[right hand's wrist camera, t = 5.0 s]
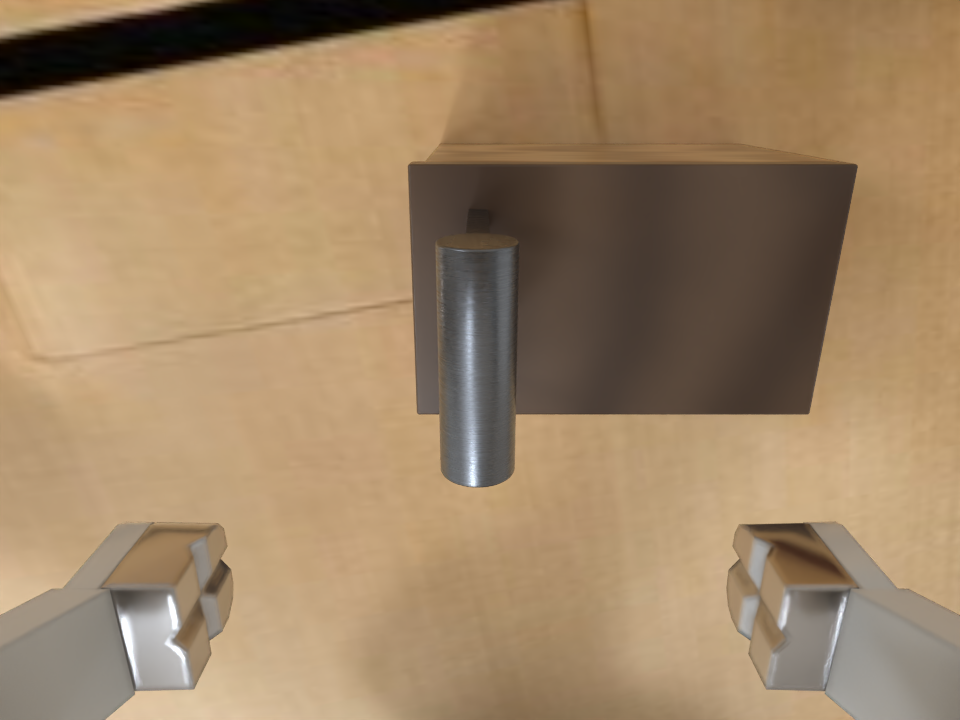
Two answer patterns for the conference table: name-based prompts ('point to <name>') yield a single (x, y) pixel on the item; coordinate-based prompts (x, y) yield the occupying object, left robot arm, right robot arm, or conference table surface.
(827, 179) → the door
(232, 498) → the conference table surface
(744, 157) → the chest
